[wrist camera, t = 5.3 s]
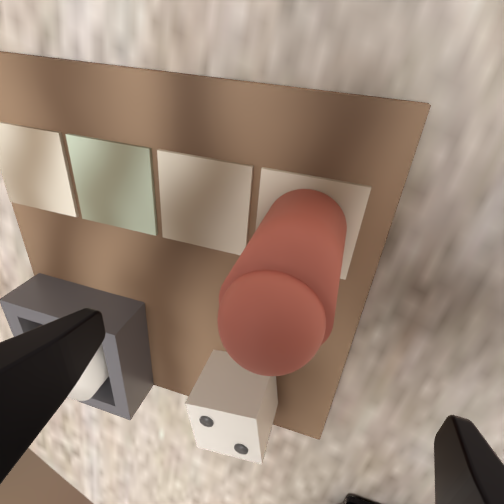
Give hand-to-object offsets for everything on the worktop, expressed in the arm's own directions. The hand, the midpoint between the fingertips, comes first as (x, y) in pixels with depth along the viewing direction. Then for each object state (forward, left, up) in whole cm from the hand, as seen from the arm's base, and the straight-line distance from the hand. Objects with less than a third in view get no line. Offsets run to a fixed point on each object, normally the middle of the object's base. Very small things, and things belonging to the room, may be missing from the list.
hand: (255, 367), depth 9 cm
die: (+2, +11, -8) cm, 14 cm away
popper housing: (+13, +11, -8) cm, 19 cm away
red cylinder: (0, 0, -8) cm, 8 cm away
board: (+7, +5, -9) cm, 12 cm away
